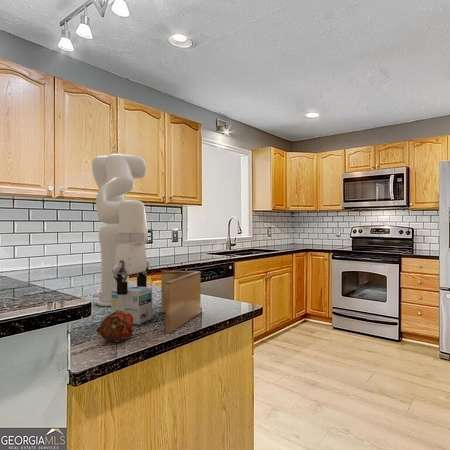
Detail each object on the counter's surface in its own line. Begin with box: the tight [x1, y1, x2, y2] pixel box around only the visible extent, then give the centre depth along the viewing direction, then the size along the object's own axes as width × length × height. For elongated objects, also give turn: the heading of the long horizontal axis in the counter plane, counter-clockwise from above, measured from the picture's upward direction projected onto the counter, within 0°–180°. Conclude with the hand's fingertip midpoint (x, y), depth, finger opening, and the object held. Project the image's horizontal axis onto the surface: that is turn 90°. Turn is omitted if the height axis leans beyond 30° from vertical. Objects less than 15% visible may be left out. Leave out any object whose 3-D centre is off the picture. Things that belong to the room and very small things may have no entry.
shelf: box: [160, 270, 202, 334], centre depth 105 cm, size 14×21×15 cm
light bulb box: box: [110, 285, 154, 325], centre depth 105 cm, size 11×7×11 cm, turn 78°
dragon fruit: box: [95, 310, 135, 343], centre depth 89 cm, size 8×8×12 cm
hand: (132, 291), depth 105 cm, fingers open, 9 cm apart
